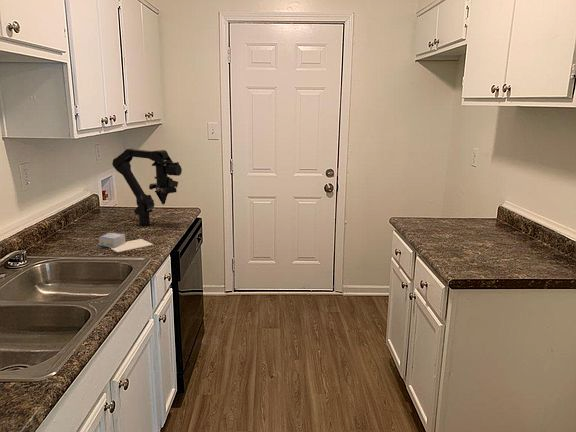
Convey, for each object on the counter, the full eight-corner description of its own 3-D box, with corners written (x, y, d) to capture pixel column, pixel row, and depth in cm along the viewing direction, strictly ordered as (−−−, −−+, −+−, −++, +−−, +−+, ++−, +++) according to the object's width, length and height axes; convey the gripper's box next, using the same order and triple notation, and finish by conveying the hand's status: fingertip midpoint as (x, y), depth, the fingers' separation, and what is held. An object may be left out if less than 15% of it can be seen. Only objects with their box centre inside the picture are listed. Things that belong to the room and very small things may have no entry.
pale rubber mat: (106, 246, 212) (106, 245, 212) (141, 239, 223) (141, 238, 223) (117, 252, 203) (117, 251, 203) (153, 244, 214) (153, 244, 214)
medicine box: (125, 233, 215) (113, 238, 207) (126, 243, 216) (114, 248, 208) (110, 232, 217) (98, 237, 209) (111, 241, 218) (99, 246, 210)
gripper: (185, 175, 240) (186, 205, 243) (166, 171, 253) (168, 199, 256) (165, 177, 232) (167, 208, 236) (147, 173, 245) (149, 202, 249)
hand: (163, 204), depth 244 cm, fingers closed
